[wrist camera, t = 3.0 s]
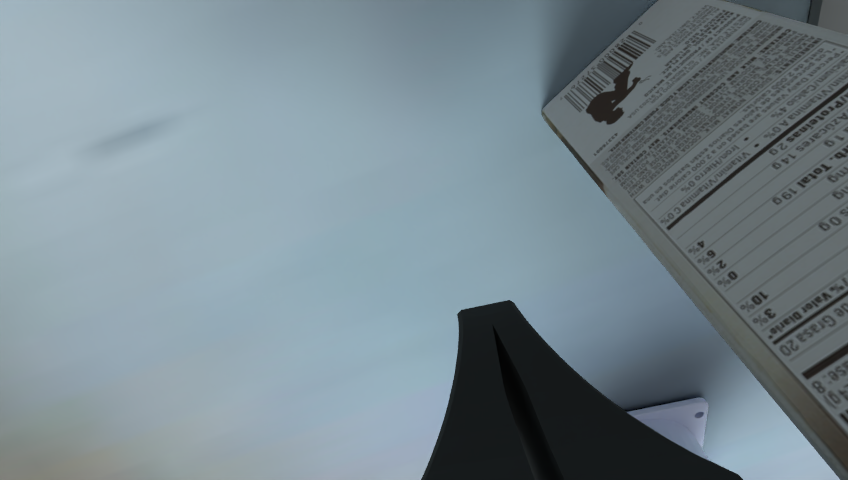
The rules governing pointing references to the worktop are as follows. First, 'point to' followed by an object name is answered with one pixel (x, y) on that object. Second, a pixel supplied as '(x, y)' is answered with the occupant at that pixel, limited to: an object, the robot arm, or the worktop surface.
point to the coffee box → (735, 184)
